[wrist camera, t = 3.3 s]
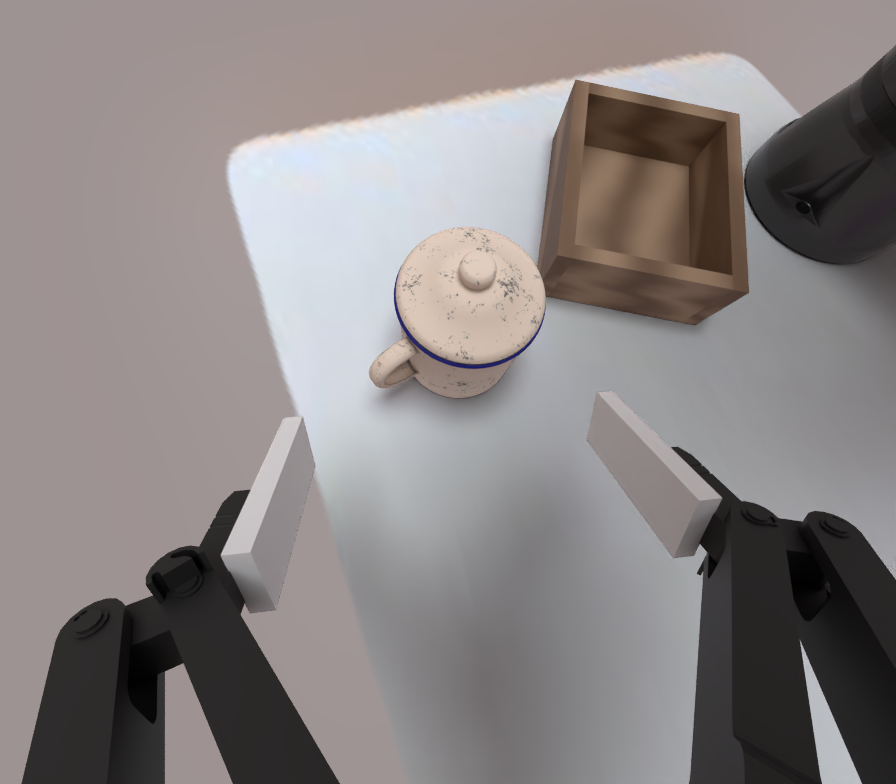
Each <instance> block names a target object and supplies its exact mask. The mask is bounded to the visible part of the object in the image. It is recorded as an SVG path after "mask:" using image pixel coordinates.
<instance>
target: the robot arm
mask: <svg viewBox="0 0 896 784" xmlns="http://www.w3.org/2000/svg"><path fill="white" fill-rule="evenodd" d="M746 188H747V193H748V196H749V199H750V202H751V204H752V206H753V208H754V210H755V212H756V214H757V215H758V217H759V218H760V220H761V221H762V222H763V224H764V225H765V226H766V227H767V228H768V229H769V230H770V231H771V232H772V233H773V234H774V235H775V236H776V237H777V238H778V239H779V240H781V241H782V242H783V243H785V244H786V245H788V246H789V247H791V248H792V249H794V250H796V251H797V252H799V253H801V254H804V255H806V256H808V257H811V258H814V259H817V260H820V261H824V262H830V263H840V264H845V263H854V262H859V261H862V260H865V259H867V258H869V257H871V256H873V255H875V254H877V253H879V252H881V251H883V250H885V249H887V248H889V247H890V246H892V245H894V244H896V45H895V46H894V47H893V48H892V49H891V50H890V51H889V52H888V53H887V54H886V55H885V56H883V58H881V59H880V60H879V61H878V62H877V63H876V64H875V65H874V66H873V67H872V68H871V69H870V70H868V71H867V72H866V73H865V74H864V75H863V76H862V77H861V78H859V79H858V80H857V81H856V82H854V83H853V84H851V85H850V86H848V87H846V88H845V89H843V90H842V91H840V92H839V93H837V94H836V95H834V96H833V97H831V98H830V99H828V100H826V101H825V102H823V103H822V104H820V105H819V106H817V107H816V108H815V109H813V110H811V111H810V112H809V113H807V114H806V115H804V116H803V117H801V118H798V119H796V120H793V121H792V122H790V123H788V124H787V125H785V126H783V127H782V128H781V129H779V130H778V131H777V132H776V133H774V134H773V135H772V136H771V137H770V138H769V139H768V140H767V141H766V142H765V143H764V144H763V145H762V146H761V147H760V148H759V149H758V150H757V151H756V152H755V154H754V155H753V156H752V158H751V160H750V162H749V164H748V167H747V171H746ZM587 441H588V443H589V444H590V445H591V447H592V448H593V449H594V451H595V452H596V454H597V455H598V456H599V458H600V459H601V460H602V462H603V463H604V464H605V466H606V467H607V469H608V470H609V471H610V473H611V474H612V475H613V477H614V478H615V479H616V481H617V482H618V484H619V485H620V486H621V488H622V489H623V490H624V492H625V493H626V494H627V496H628V497H629V499H630V500H631V501H632V503H633V504H634V505H635V507H636V508H637V509H638V511H639V512H640V514H641V515H642V516H643V518H644V519H645V520H646V522H647V523H648V525H649V526H650V527H651V529H652V530H653V531H654V533H655V534H656V535H657V537H658V538H659V540H660V541H661V542H662V544H663V545H664V546H665V548H666V549H667V550H668V552H669V553H670V555H671V556H672V557H673V558H679V557H687V556H694V554H695V552H696V550H697V548H698V546H699V544H701V545H702V547H703V548H704V549H705V550H706V551H707V555H706V556H705V558H704V560H703V562H702V564H701V566H700V568H699V570H698V572H697V574H698V575H701V574H702V572H703V587H702V602H701V618H700V634H699V649H698V665H697V681H696V696H695V712H694V728H693V743H692V759H691V774H690V781H689V784H822V782H821V778H820V772H819V765H818V758H817V752H816V745H815V739H814V732H813V725H812V719H811V712H810V705H809V699H808V692H807V685H806V679H805V672H804V666H803V659H802V652H801V646H800V641H801V643H802V645H803V648H804V650H805V652H806V655H807V657H808V659H809V661H810V664H811V666H812V668H813V671H814V673H815V675H816V678H817V680H818V682H819V685H820V687H821V689H822V692H823V694H824V696H825V699H826V701H827V703H828V706H829V708H830V710H831V712H832V715H833V717H834V719H835V722H836V724H837V726H838V729H839V731H840V733H841V736H842V738H843V740H844V743H845V745H846V747H847V750H848V752H849V754H850V757H851V759H852V761H853V763H854V766H855V768H856V770H857V773H858V775H859V777H860V780H861V782H862V784H896V580H895V578H894V577H893V576H892V574H891V573H890V571H889V570H888V569H887V567H886V566H885V565H884V563H883V562H882V560H881V559H880V558H879V556H878V555H877V554H876V552H875V551H874V550H873V548H872V547H871V545H870V544H869V543H868V541H867V540H866V539H865V537H864V536H863V534H862V533H861V532H860V531H859V530H858V529H857V528H856V527H855V526H853V525H852V524H850V523H849V522H847V521H846V520H844V519H842V518H840V517H838V516H835V515H833V514H829V513H826V512H819V511H813V512H810V513H808V515H807V516H806V517H805V519H804V520H803V522H801V521H794V520H787V519H780V518H777V517H776V516H775V515H774V514H773V513H772V512H770V511H769V510H767V509H766V508H764V507H762V506H760V505H757V504H755V503H750V502H746V501H743V502H742V501H740V500H739V499H738V498H737V497H736V496H735V495H734V494H733V493H732V492H731V491H730V490H729V489H728V488H727V487H725V486H724V485H723V484H722V483H721V482H720V481H719V480H718V479H717V478H716V477H715V476H714V475H713V474H710V472H709V471H708V470H707V469H706V468H705V467H704V466H702V465H701V463H700V462H699V461H698V460H697V459H695V458H694V457H693V456H692V455H691V454H689V453H688V452H686V451H684V450H682V449H681V448H679V447H670V446H669V445H668V444H667V443H666V442H665V441H663V440H662V439H661V438H660V437H659V436H658V435H657V434H656V433H655V432H654V431H653V430H652V429H651V428H650V427H649V426H648V425H647V424H646V423H645V422H644V421H643V420H642V419H641V418H640V417H639V416H638V415H637V414H636V413H635V412H634V411H633V410H632V409H631V408H630V407H629V406H628V405H627V404H626V403H625V402H624V401H623V400H622V399H620V398H619V397H618V396H617V395H616V394H615V393H614V392H613V391H608V392H597V395H596V400H595V404H594V409H593V414H592V418H591V423H590V428H589V432H588V437H587ZM314 470H315V462H314V458H313V454H312V450H311V446H310V443H309V439H308V435H307V431H306V427H305V423H304V419H303V416H300V417H287V418H284V419H283V421H282V423H281V425H280V428H279V430H278V432H277V434H276V437H275V438H274V441H273V443H272V445H271V447H270V449H269V452H268V454H267V456H266V458H265V460H264V462H263V464H262V467H261V469H260V471H259V473H258V475H257V478H256V480H255V482H254V484H253V486H252V488H251V490H243V491H234V492H233V493H232V494H231V495H230V496H229V497H228V498H227V499H226V500H225V501H224V502H223V503H222V505H221V507H220V509H219V511H218V512H217V514H216V518H214V520H213V522H212V524H211V525H210V529H208V531H207V533H206V535H205V537H204V539H203V541H202V543H201V544H200V546H199V547H197V546H186V547H181V548H178V549H176V550H174V551H171V552H169V553H167V554H166V555H165V556H163V557H162V558H160V559H159V560H158V561H157V562H156V563H155V564H154V565H153V566H152V567H151V569H150V570H149V572H148V574H147V576H146V586H147V587H148V589H149V590H150V591H151V593H152V594H153V596H151V597H148V598H145V599H143V600H140V601H138V602H135V603H132V604H129V605H127V606H125V605H124V604H123V603H122V602H121V601H119V600H118V599H115V598H114V599H112V598H111V599H103V600H101V601H97V602H94V603H92V604H91V605H89V606H87V607H85V608H84V609H82V610H80V611H79V612H78V613H77V614H75V615H74V616H73V617H72V618H70V620H69V621H68V622H67V623H66V624H65V625H64V626H63V628H62V629H61V630H60V633H59V634H58V637H57V639H56V642H55V646H54V650H53V654H52V658H51V663H50V667H49V671H48V675H47V679H46V684H45V688H44V692H43V696H42V700H41V705H40V709H39V713H38V718H37V721H36V725H35V730H34V734H33V738H32V742H31V747H30V751H29V755H28V759H27V763H26V767H25V772H24V776H23V780H22V784H165V671H167V670H169V669H171V668H174V667H176V666H178V665H180V664H182V663H184V665H185V667H186V670H187V672H188V675H189V677H190V680H191V682H192V685H193V687H194V690H195V692H196V695H197V697H198V699H199V702H200V704H201V707H202V709H203V712H204V714H205V717H206V719H207V721H208V724H209V726H210V729H211V731H212V734H213V736H214V738H215V741H216V743H217V746H218V748H219V750H220V753H221V756H222V758H223V760H224V763H225V765H226V768H227V770H228V773H229V775H230V778H231V780H232V782H233V784H340V783H339V782H338V780H337V778H336V777H335V775H334V773H333V771H332V770H331V768H330V766H329V765H328V763H327V761H326V760H325V758H324V756H323V754H322V753H321V751H320V749H319V748H318V746H317V744H316V743H315V741H314V739H313V737H312V736H311V734H310V732H309V731H308V729H307V727H306V726H305V724H304V722H303V720H302V719H301V717H300V715H299V714H298V712H297V710H296V709H295V707H294V705H293V703H292V702H291V700H290V698H289V697H288V695H287V693H286V692H285V690H284V688H283V686H282V685H281V683H280V681H279V680H278V678H277V676H276V674H275V673H274V671H273V669H272V668H271V666H270V664H269V663H268V661H267V659H266V657H265V656H264V654H263V653H262V651H261V649H260V647H259V646H258V644H257V642H256V640H255V639H254V637H253V636H252V634H251V632H250V630H249V629H248V627H247V625H246V624H245V622H244V620H243V619H242V617H241V612H242V609H243V606H244V603H245V605H246V607H247V608H248V611H249V613H257V612H265V611H272V610H276V608H277V604H278V600H279V597H280V593H281V589H282V586H283V582H284V579H285V575H286V572H287V568H288V564H289V561H290V557H291V553H292V550H293V546H294V542H295V538H296V535H297V531H298V528H299V524H300V521H301V517H302V513H303V510H304V506H305V502H306V499H307V495H308V491H309V488H310V484H311V480H312V477H313V473H314ZM799 638H800V639H799Z"/></svg>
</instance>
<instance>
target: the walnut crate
mask: <svg viewBox="0 0 896 784" xmlns="http://www.w3.org/2000/svg"><path fill="white" fill-rule="evenodd" d="M538 270H539V273H540V275H541V277H542V280H543V284H544V288H545V296H547V297H553V298H558V299H563V300H568V301H573V302H579V303H584V304H589V305H594V306H599V307H604V308H610V309H615V310H620V311H625V312H630V313H636V314H641V315H646V316H651V317H656V318H662V319H667V320H672V321H677V322H682V323H687V324H693V325H696V324H697V323H699V322H701V321H702V320H704V319H706V318H707V317H709V316H711V315H712V314H714V313H716V312H717V311H719V310H721V309H722V308H724V307H726V306H728V305H729V304H731V303H733V302H734V301H736V300H738V299H739V298H741V297H743V296H744V295H746V294H748V293H749V286H748V267H747V248H746V229H745V211H744V192H743V173H742V155H741V136H740V117H739V114H736V113H732V112H727V111H722V110H717V109H713V108H708V107H703V106H698V105H694V104H689V103H684V102H679V101H675V100H670V99H665V98H660V97H656V96H651V95H646V94H641V93H637V92H632V91H627V90H622V89H618V88H613V87H608V86H603V85H599V84H594V83H589V82H584V81H580V80H575V83H574V86H573V88H572V91H571V93H570V96H569V99H568V101H567V104H566V106H565V109H564V112H563V114H562V117H561V120H560V122H559V125H558V127H557V130H556V133H555V135H554V138H553V144H552V152H551V160H550V169H549V177H548V185H547V194H546V202H545V210H544V219H543V227H542V235H541V244H540V252H539V260H538Z"/></svg>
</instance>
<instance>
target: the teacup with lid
mask: <svg viewBox="0 0 896 784" xmlns="http://www.w3.org/2000/svg"><path fill="white" fill-rule="evenodd" d="M394 304H395V310H396V313H397V317H398V320H399V322H400V324H401V329H402V338H403V339H401V340H400V341H398V342H397V343H395V344H394V345H392V346H391V347H389V348H388V349H386V350H385V351H384V352H383V353H382V354H380V355H379V356H378V357H377V359H376V360H375V361H374V362H373V363H372V365H371V367H370V370H369V376H370V378H371V380H372V381H373V383H374V384H375V385H376V386H377V387H379V388H391V387H395V386H397V385H400V384H402V383H403V382H405V381H407V380H409V379H410V378H412V377H413V376H414V377H415V378H416V379H417V380H418V381H419V382H420V383H421V384H422V385H423V386H425V387H426V388H427V389H429V390H431V391H432V392H434V393H437V394H439V395H442V396H446V397H451V398H467V397H472V396H475V395H478V394H481V393H483V392H485V391H486V390H488V389H490V388H491V387H492V386H493V385H495V384H496V383H497V382H498V381H499V379H500V378H501V377H502V376H503V374H504V373H505V371H506V370H507V369H508V367H509V366H510V365H511V363H512V362H513V361H514V359H515V358H516V356H518V355H519V354H520V353H522V352H523V351H524V350H525V349H526V348H527V347H528V346H529V345H530V344H531V343H532V341H533V340H534V339H535V337H536V336H537V334H538V332H539V330H540V328H541V325H542V323H543V319H544V315H545V307H546V297H545V288H544V284H543V280H542V277H541V275H540V273H539V270H538V269H537V267H536V265H535V263H534V262H533V260H532V259H531V258H530V256H529V255H528V254H527V253H526V252H525V251H524V250H523V249H522V248H521V247H520V246H519V245H517V244H516V243H515V242H513V241H512V240H510V239H509V238H507V237H505V236H503V235H501V234H498V233H496V232H493V231H490V230H486V229H482V228H474V227H460V228H453V229H448V230H445V231H441V232H439V233H436V234H434V235H432V236H430V237H428V238H427V239H425V240H424V241H422V242H421V243H420V244H419V245H417V246H416V247H415V248H414V249H413V250H412V251H411V253H410V254H409V255H408V256H407V258H406V259H405V261H404V263H403V264H402V266H401V268H400V270H399V272H398V275H397V278H396V282H395V288H394Z"/></svg>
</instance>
